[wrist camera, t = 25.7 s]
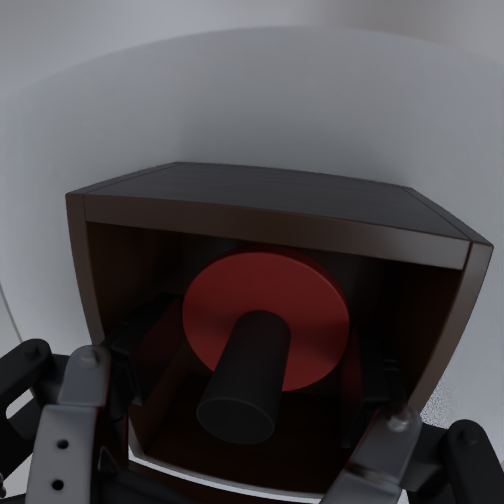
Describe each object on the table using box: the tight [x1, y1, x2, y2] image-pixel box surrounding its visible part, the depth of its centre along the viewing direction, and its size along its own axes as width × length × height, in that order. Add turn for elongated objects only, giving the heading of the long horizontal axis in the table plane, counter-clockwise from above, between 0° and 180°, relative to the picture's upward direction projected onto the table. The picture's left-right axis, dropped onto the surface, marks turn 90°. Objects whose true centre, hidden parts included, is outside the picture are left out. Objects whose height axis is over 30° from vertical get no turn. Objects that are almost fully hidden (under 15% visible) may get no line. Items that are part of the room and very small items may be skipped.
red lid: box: [182, 244, 350, 444], centre depth 9 cm, size 6×6×5 cm
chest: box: [65, 162, 494, 499], centre depth 13 cm, size 14×12×8 cm
